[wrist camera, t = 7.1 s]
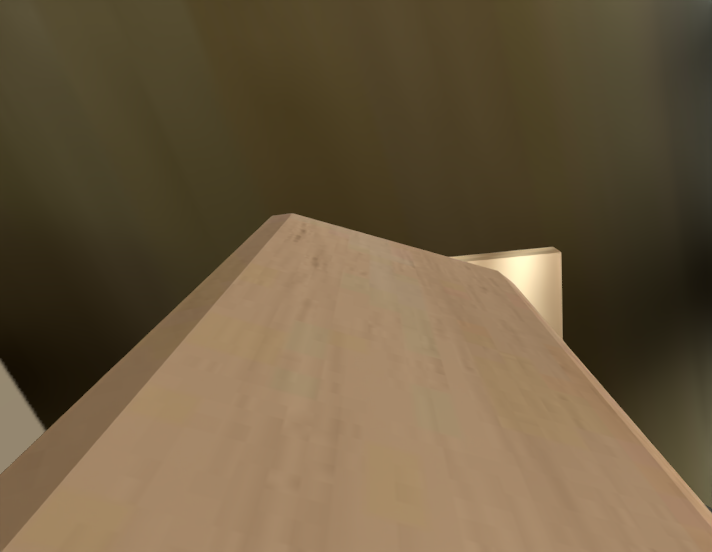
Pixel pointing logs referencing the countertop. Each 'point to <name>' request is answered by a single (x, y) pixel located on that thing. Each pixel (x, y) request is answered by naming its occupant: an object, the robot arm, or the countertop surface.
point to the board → (530, 278)
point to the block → (348, 422)
